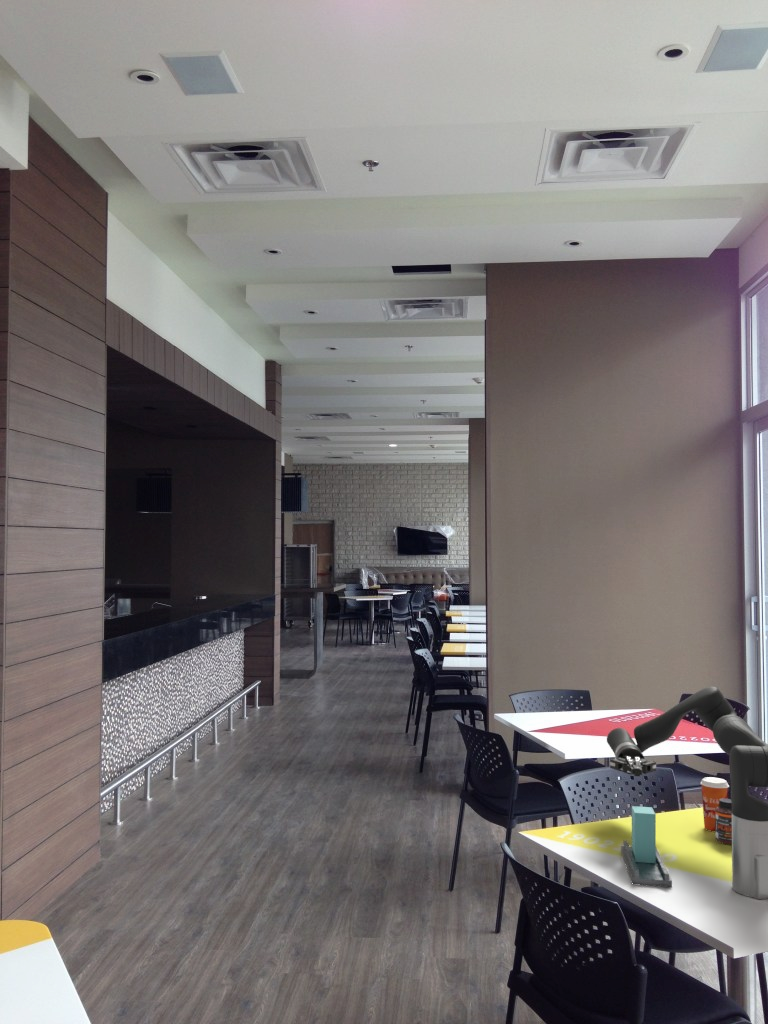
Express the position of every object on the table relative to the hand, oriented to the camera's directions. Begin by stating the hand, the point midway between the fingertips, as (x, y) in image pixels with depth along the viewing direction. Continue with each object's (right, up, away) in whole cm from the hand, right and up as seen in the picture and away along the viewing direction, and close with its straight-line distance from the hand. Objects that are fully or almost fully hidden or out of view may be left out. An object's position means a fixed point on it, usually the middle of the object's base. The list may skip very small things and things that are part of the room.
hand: (637, 772), depth 220 cm
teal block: (-2, -18, -12) cm, 22 cm away
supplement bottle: (+27, -22, +7) cm, 35 cm away
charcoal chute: (-3, -19, -15) cm, 24 cm away
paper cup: (+28, -22, +18) cm, 40 cm away
